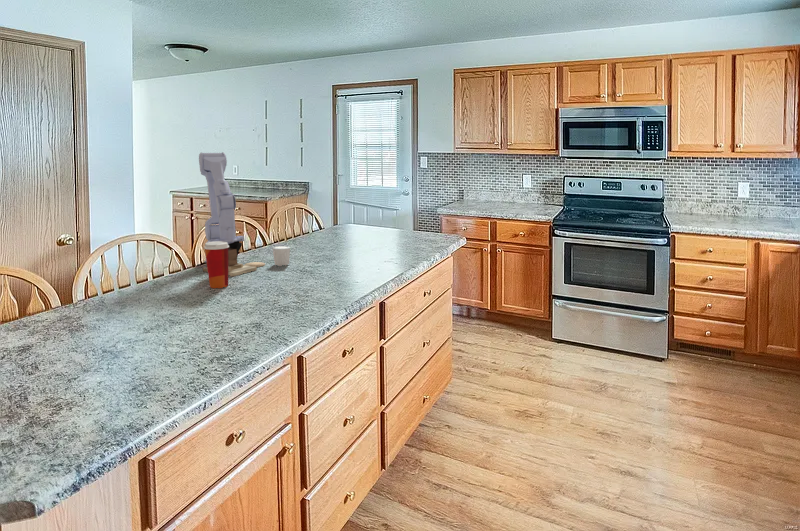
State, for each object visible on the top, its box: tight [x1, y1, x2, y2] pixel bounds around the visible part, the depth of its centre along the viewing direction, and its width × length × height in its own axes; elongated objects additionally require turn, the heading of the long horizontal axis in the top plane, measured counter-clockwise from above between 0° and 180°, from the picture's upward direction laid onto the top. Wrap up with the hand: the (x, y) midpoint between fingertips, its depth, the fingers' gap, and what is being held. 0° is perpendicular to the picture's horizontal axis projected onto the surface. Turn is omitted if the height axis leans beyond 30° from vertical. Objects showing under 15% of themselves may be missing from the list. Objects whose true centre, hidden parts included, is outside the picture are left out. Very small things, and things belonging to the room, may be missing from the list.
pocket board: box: [202, 262, 258, 277], centre depth 218 cm, size 16×12×2 cm
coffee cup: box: [203, 241, 229, 289], centre depth 193 cm, size 8×8×15 cm
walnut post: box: [228, 248, 238, 267], centre depth 217 cm, size 4×4×8 cm
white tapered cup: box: [272, 245, 291, 267], centre depth 229 cm, size 7×7×7 cm
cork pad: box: [243, 261, 266, 268], centre depth 228 cm, size 8×8×1 cm
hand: (229, 262), depth 217 cm, fingers closed on walnut post, 4 cm apart
